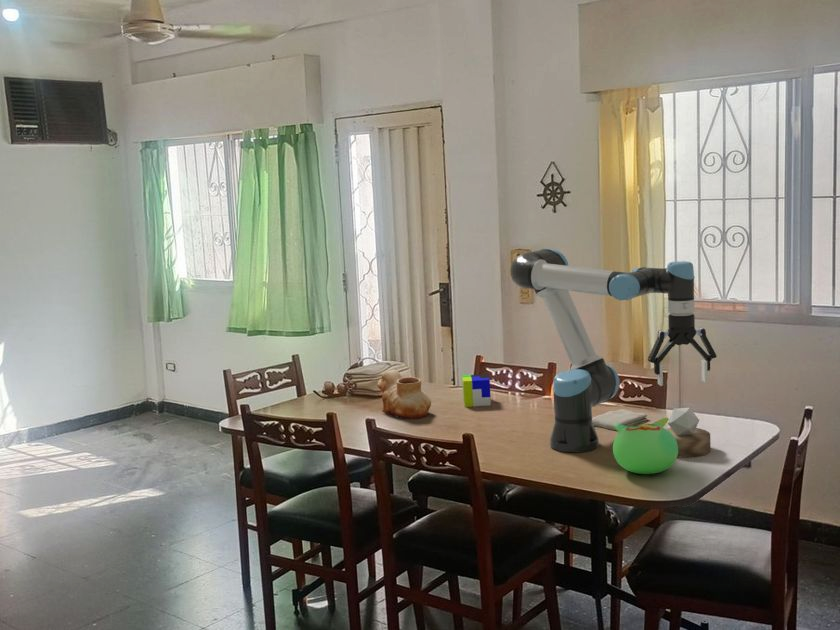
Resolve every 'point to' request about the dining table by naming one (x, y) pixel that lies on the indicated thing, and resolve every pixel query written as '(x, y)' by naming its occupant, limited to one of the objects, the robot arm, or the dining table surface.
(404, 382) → the ceramic vessel
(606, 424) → the washcloth
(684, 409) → the die
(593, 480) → the dining table surface
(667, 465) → the green eared pot
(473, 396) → the puzzle toy
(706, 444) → the plinth
